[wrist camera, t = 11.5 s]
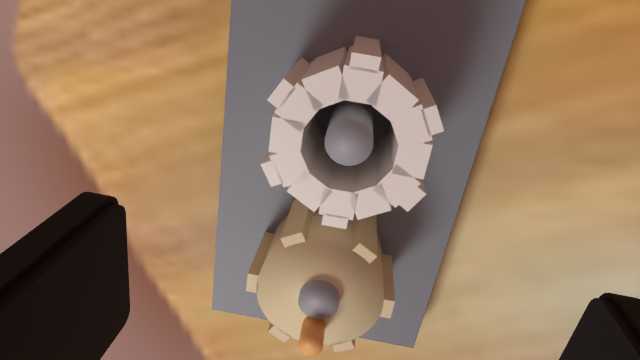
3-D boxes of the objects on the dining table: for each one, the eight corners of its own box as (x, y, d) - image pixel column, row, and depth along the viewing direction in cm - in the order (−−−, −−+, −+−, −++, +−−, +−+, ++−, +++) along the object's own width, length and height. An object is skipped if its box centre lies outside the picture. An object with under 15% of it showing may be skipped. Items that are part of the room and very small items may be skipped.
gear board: (248, -79, 21) (190, -105, 14) (522, -34, 21) (596, -39, 14) (221, 289, 31) (178, 379, 24) (410, 325, 30) (422, 427, 23)
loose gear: (294, 25, 21) (273, 38, 16) (441, 50, 21) (461, 71, 16) (277, 168, 24) (255, 212, 20) (405, 191, 24) (413, 241, 19)
